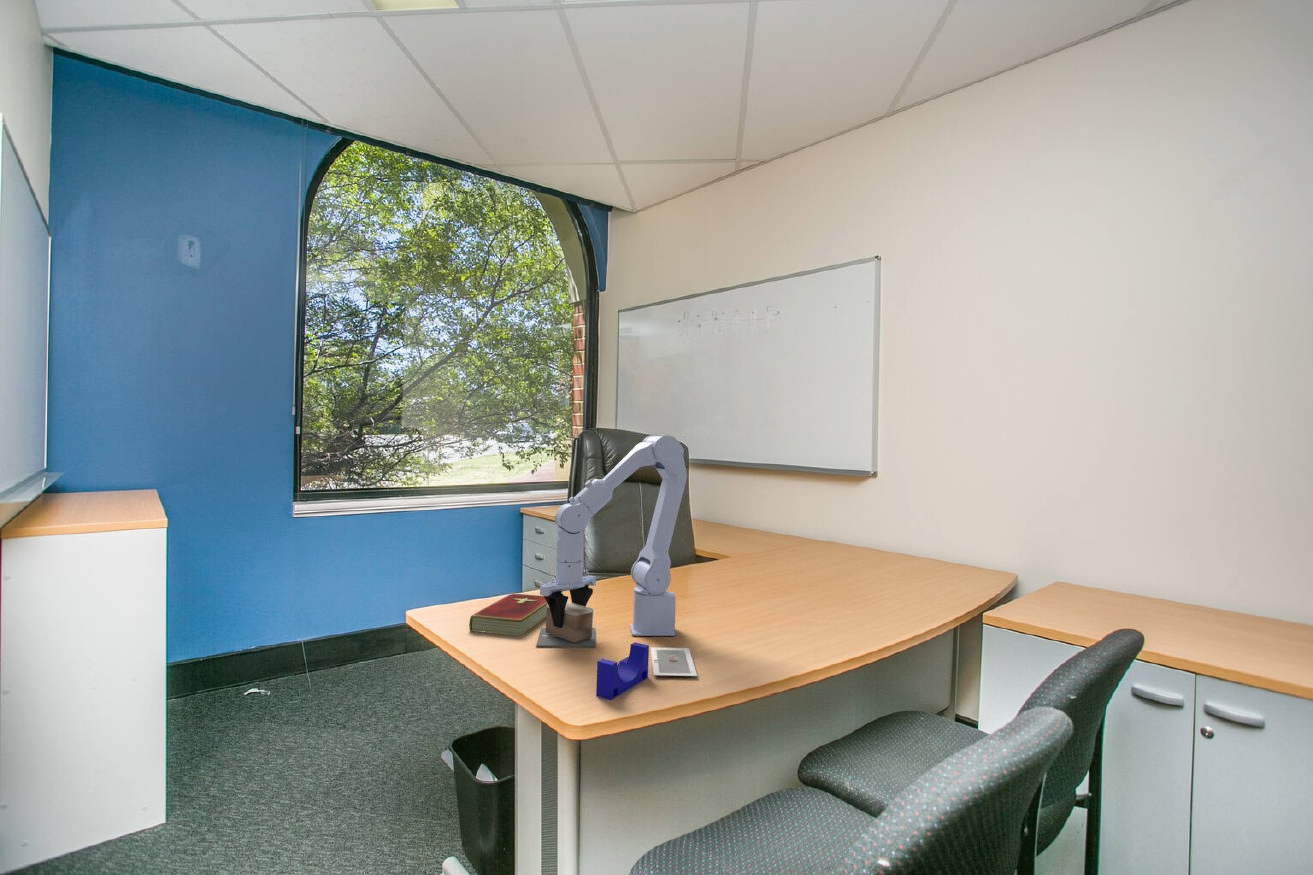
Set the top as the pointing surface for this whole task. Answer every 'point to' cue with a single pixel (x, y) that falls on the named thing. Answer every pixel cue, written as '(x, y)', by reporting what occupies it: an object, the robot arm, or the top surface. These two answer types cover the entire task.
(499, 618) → the hardcover book
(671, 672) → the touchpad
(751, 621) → the top surface
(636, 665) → the blue cradle bracket
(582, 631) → the card box
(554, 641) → the mat
